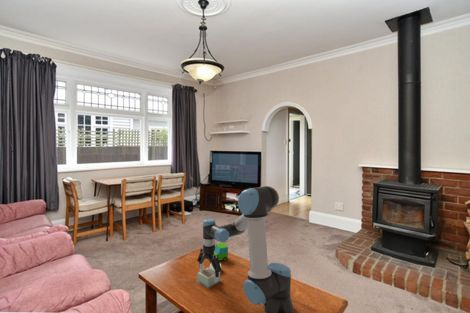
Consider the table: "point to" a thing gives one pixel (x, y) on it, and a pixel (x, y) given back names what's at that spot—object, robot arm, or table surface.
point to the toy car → (221, 251)
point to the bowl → (212, 266)
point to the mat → (209, 286)
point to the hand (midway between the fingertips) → (208, 277)
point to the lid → (207, 276)
